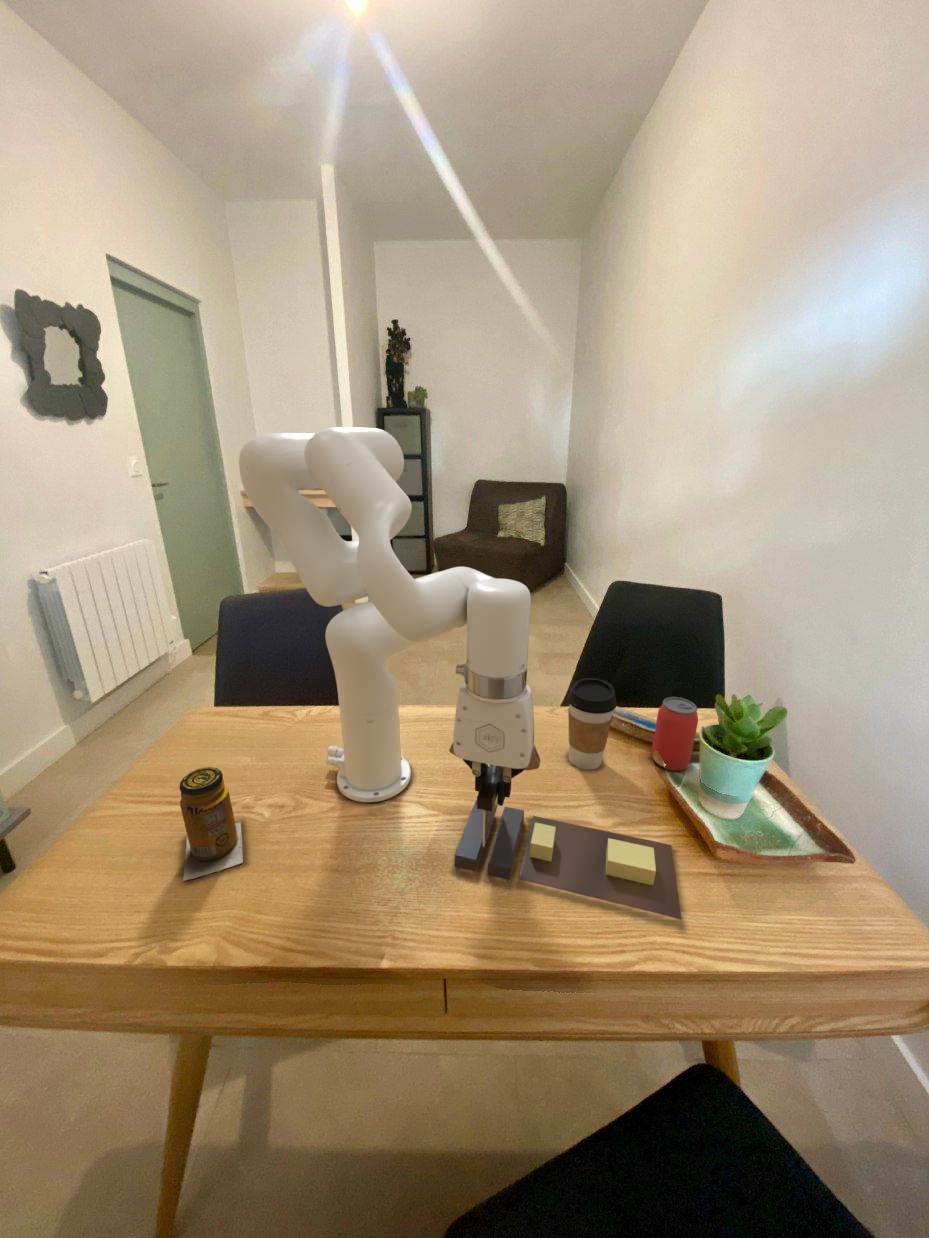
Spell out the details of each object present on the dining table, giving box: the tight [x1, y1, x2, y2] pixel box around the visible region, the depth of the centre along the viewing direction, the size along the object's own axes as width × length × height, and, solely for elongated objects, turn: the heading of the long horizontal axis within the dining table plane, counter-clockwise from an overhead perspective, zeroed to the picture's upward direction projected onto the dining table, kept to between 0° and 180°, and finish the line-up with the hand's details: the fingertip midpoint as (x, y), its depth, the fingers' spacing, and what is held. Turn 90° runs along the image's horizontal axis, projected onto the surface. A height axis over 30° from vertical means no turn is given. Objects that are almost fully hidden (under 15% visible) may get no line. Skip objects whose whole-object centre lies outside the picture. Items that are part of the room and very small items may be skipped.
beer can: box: [650, 696, 699, 772], centre depth 87 cm, size 7×7×12 cm
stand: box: [454, 799, 525, 881], centre depth 69 cm, size 8×11×3 cm
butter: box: [606, 838, 656, 885], centre depth 65 cm, size 6×4×2 cm, turn 74°
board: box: [519, 815, 682, 920], centre depth 67 cm, size 20×12×1 cm, turn 74°
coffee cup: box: [567, 677, 617, 771], centre depth 87 cm, size 8×8×15 cm
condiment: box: [179, 766, 244, 882], centre depth 67 cm, size 7×8×12 cm
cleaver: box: [476, 764, 502, 848], centre depth 67 cm, size 2×10×8 cm, turn 164°
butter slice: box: [530, 822, 556, 862], centre depth 68 cm, size 3×4×2 cm
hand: (492, 796), depth 67 cm, fingers closed on cleaver, 2 cm apart
